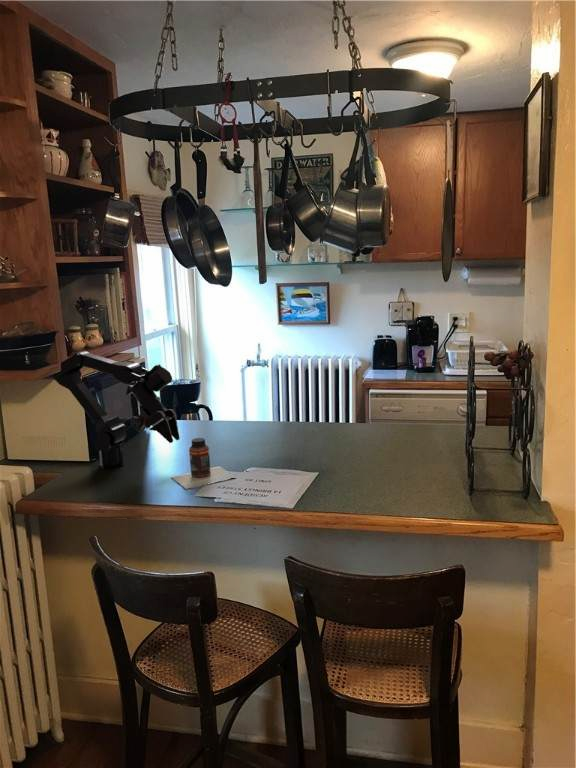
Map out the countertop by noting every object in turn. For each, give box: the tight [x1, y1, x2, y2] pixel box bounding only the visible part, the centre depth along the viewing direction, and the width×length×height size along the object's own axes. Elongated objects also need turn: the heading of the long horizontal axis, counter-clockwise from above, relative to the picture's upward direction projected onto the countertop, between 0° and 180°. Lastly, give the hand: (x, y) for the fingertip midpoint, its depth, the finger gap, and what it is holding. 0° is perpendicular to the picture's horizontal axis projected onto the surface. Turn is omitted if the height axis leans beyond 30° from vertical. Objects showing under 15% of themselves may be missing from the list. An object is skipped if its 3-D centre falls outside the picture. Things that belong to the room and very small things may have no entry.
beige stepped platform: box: [171, 465, 230, 490], centre depth 187 cm, size 16×12×1 cm
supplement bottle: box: [188, 437, 211, 478], centre depth 187 cm, size 6×6×11 cm
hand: (175, 441), depth 192 cm, fingers open, 9 cm apart
